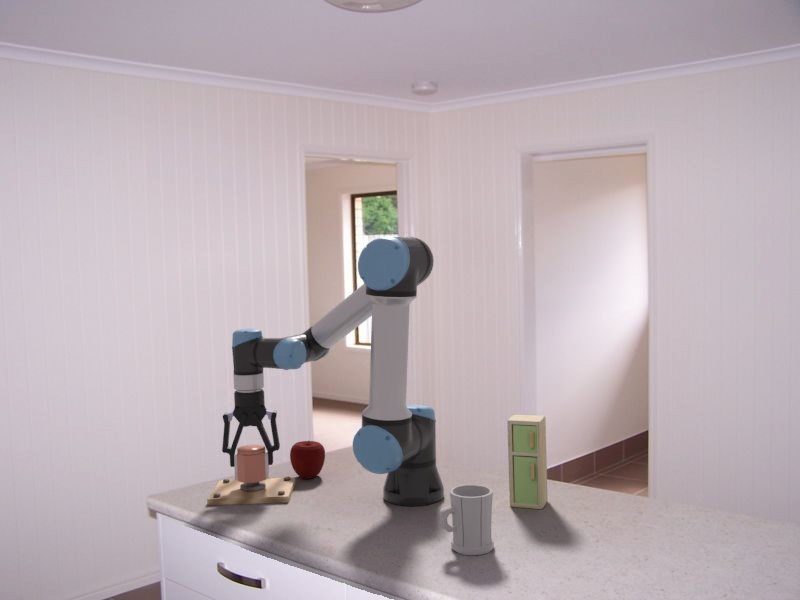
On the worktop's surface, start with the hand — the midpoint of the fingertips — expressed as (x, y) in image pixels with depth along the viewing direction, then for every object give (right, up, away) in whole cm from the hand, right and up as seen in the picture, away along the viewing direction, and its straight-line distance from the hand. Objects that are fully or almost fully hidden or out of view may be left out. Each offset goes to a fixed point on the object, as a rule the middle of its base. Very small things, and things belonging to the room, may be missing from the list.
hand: (252, 477), depth 201 cm
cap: (0, 0, 0) cm, 0 cm away
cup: (+52, -6, -40) cm, 66 cm away
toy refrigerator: (+69, -3, -14) cm, 70 cm away
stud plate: (0, -4, 0) cm, 4 cm away
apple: (+13, -3, +14) cm, 19 cm away
